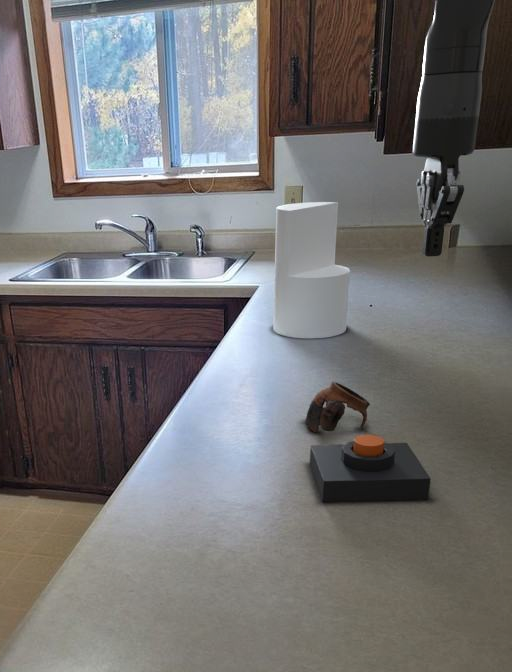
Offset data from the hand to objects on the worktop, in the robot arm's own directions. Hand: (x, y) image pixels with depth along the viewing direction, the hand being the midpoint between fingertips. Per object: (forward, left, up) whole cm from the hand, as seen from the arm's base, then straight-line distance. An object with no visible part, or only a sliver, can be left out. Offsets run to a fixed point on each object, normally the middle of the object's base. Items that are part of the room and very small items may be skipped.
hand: (431, 255), depth 101 cm
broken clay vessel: (+10, -9, -29) cm, 32 cm away
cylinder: (+5, -72, -29) cm, 78 cm away
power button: (+9, +11, -24) cm, 28 cm away
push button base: (+9, +11, -29) cm, 32 cm away
